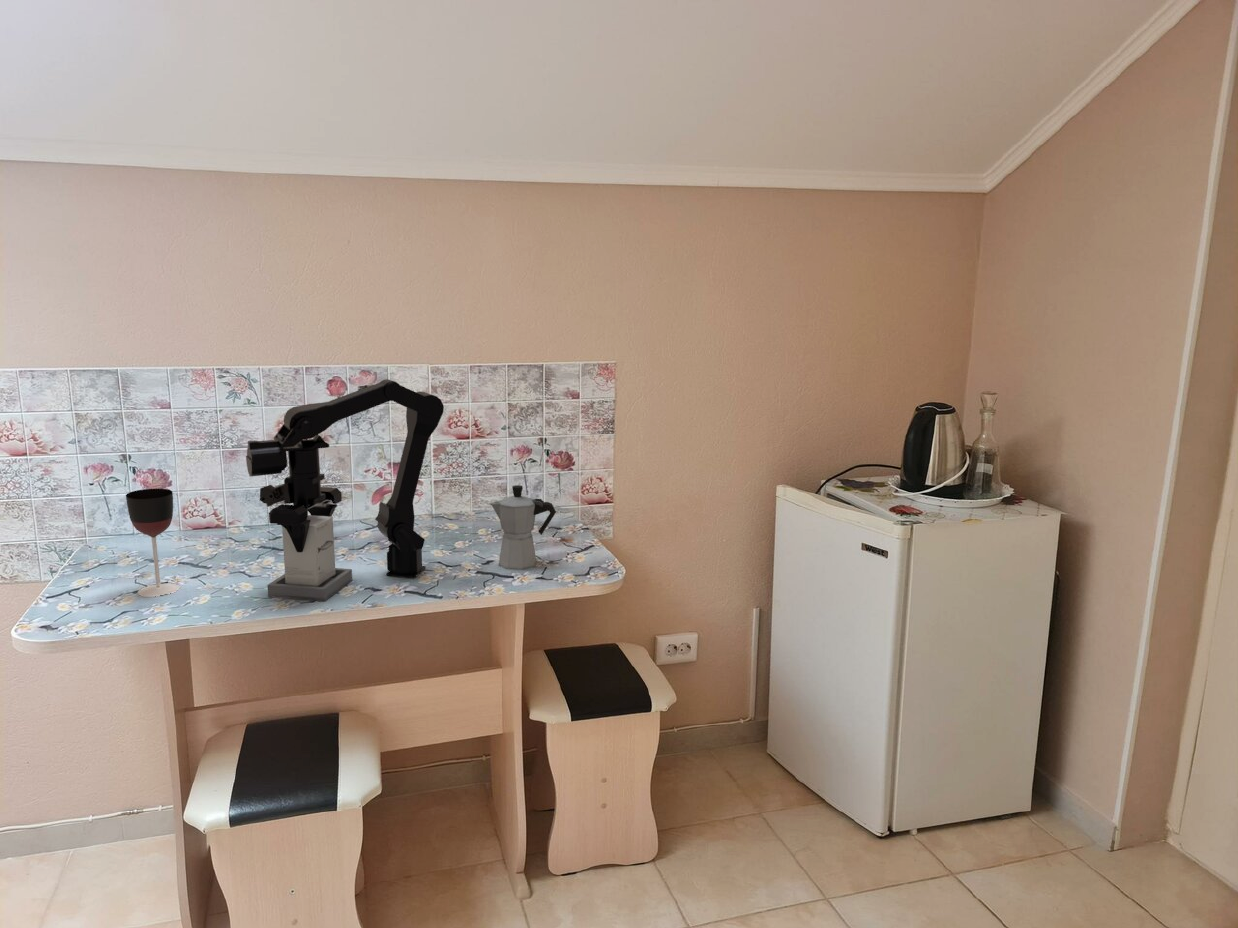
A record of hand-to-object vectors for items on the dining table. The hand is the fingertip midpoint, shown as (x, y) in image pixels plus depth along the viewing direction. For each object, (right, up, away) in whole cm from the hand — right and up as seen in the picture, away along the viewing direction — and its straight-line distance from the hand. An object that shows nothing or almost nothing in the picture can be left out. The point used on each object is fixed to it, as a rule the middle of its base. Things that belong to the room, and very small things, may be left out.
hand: (309, 546), depth 174 cm
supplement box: (0, -7, +2) cm, 7 cm away
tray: (0, -9, +2) cm, 9 cm away
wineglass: (-30, -9, -1) cm, 31 cm away
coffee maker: (+41, -6, +20) cm, 46 cm away
